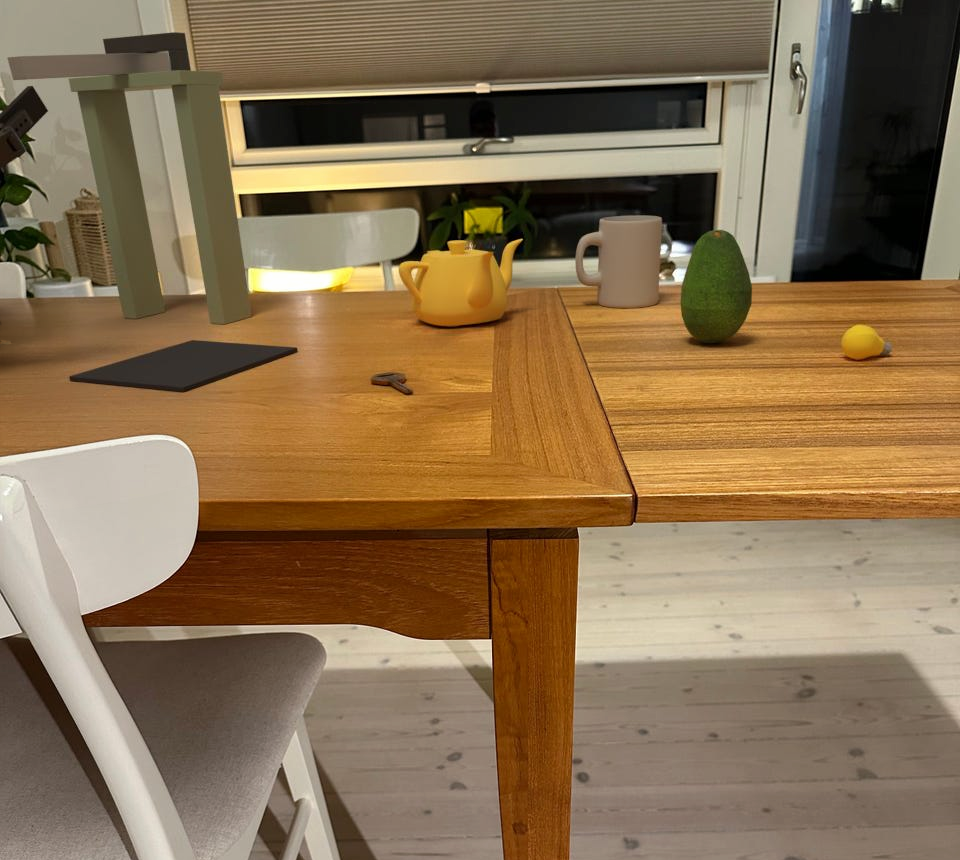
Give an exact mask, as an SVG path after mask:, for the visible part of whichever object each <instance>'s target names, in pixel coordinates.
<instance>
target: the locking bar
mask: <svg viewBox="0 0 960 860" xmlns="http://www.w3.org/2000/svg"><path fill="white" fill-rule="evenodd" d="M6 59H7V61H8V67H9V69H10V74H11V77H12V80H13V81H25V80H42V79H43V80H45V79H60V78H61V79H63V78H64V79H65V78H81V77H95V76H108V75H122V74H135V73H149V72H162V71H171V65H170V59H169V53H168V52H154V53H118V54H106V53H87V54H56V55H55V54H54V55H53V54H51V55H50V54H49V55H19V56H9V57H7V58H6Z"/></svg>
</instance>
